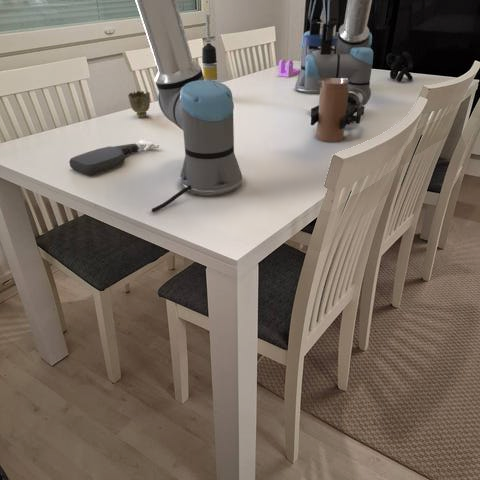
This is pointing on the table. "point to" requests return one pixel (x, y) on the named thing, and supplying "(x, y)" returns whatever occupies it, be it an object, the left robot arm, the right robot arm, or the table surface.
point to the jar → (332, 109)
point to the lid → (317, 40)
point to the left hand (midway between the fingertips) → (319, 51)
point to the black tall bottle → (209, 57)
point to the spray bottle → (106, 157)
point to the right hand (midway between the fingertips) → (326, 122)
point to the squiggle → (399, 66)
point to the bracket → (287, 69)
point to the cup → (140, 102)
